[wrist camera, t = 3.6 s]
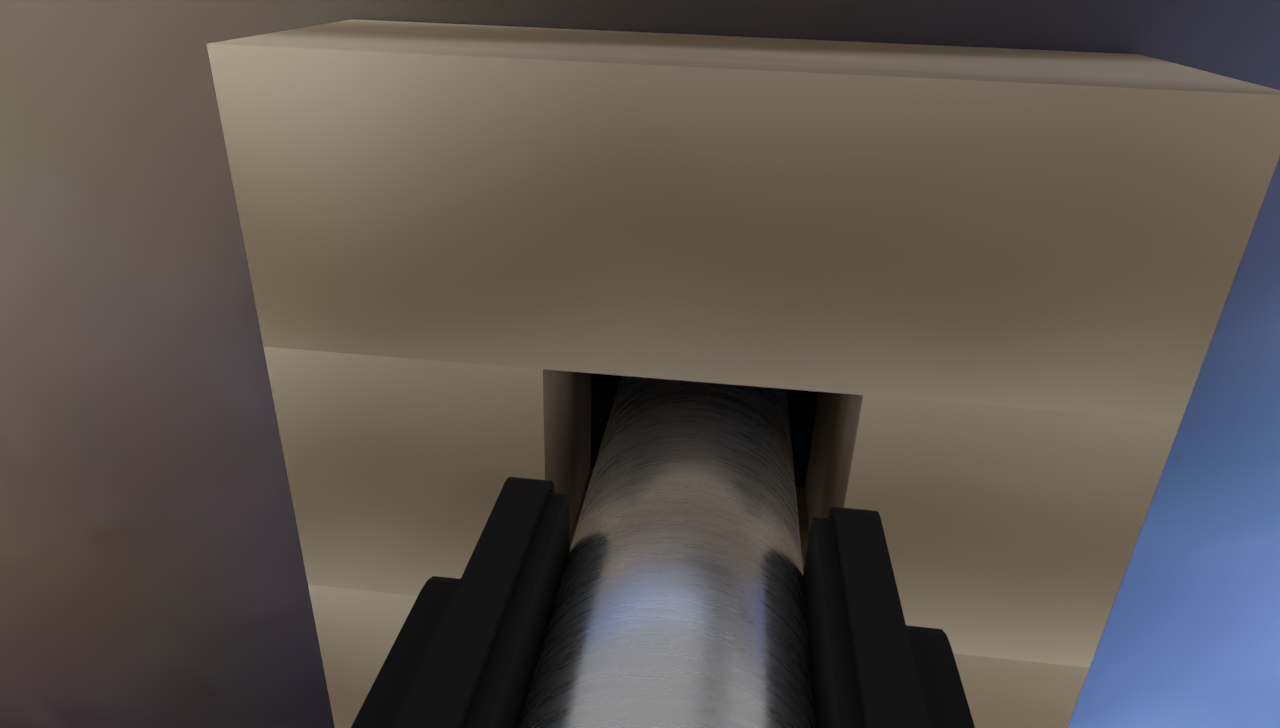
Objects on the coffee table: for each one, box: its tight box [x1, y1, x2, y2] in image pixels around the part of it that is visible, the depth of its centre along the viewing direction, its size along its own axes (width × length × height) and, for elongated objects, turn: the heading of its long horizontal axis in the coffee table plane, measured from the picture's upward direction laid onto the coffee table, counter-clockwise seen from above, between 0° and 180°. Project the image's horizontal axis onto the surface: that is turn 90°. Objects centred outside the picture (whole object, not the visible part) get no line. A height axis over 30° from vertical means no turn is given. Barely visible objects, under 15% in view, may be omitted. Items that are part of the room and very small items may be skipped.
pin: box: [518, 376, 816, 728], centre depth 10 cm, size 3×3×12 cm
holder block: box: [207, 19, 1280, 728], centre depth 14 cm, size 12×12×4 cm
